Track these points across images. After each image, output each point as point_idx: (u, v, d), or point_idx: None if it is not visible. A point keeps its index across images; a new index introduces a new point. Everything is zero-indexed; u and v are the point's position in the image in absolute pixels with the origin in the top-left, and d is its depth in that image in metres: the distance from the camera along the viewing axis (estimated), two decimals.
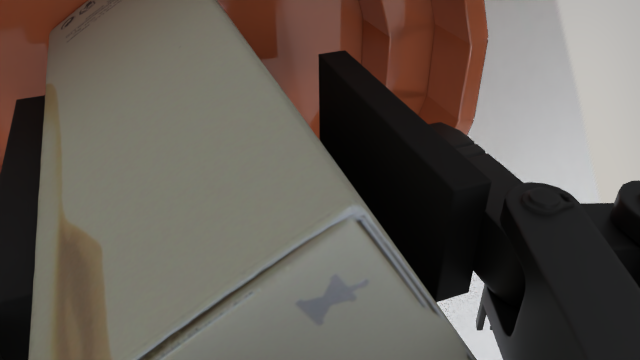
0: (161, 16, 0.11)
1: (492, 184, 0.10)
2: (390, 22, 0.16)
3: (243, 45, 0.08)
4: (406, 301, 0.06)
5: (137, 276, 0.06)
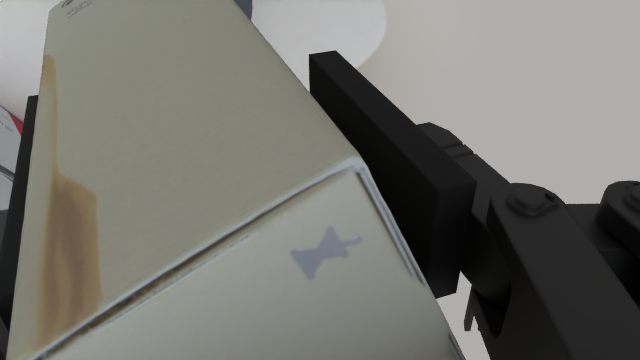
0: None
1: (480, 185, 0.10)
2: None
3: (248, 21, 0.09)
4: (395, 266, 0.06)
5: (133, 220, 0.06)
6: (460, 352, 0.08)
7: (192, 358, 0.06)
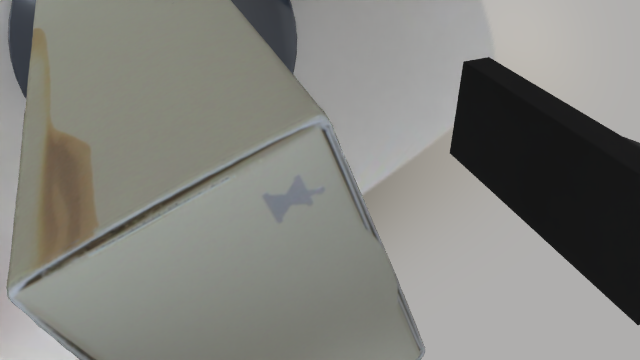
0: None
1: None
2: None
3: (233, 5, 0.09)
4: (353, 218, 0.07)
5: (125, 165, 0.07)
6: (408, 308, 0.09)
7: (171, 287, 0.07)
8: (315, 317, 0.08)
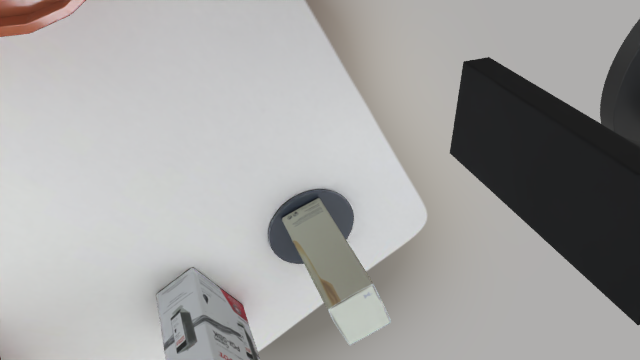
0: (326, 231, 0.48)
1: None
2: None
3: None
4: (376, 297, 0.43)
5: (341, 289, 0.43)
6: (386, 312, 0.45)
7: (348, 308, 0.43)
8: (369, 313, 0.44)
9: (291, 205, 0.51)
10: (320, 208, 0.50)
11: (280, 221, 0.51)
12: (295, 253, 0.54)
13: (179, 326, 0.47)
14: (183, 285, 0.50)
